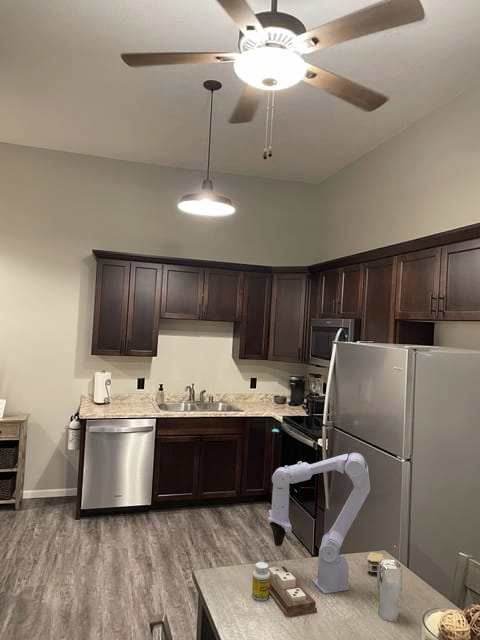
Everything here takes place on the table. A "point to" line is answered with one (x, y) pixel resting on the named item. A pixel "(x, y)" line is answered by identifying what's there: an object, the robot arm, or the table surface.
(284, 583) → the key two
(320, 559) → the robot arm
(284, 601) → the brown wooden tray
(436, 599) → the table surface
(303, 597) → the key three
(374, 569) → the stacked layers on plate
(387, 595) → the beer glass
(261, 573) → the supplement bottle
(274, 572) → the key one
